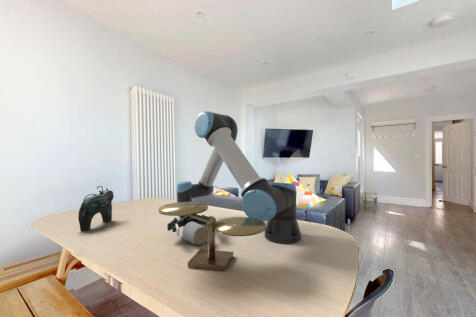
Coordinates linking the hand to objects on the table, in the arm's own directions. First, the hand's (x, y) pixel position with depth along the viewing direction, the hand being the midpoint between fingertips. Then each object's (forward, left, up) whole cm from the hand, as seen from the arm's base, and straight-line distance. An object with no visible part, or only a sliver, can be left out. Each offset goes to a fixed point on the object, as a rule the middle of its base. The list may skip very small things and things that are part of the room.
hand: (196, 229), depth 85 cm
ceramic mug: (+1, -4, -6) cm, 7 cm away
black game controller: (+61, -14, -6) cm, 63 cm away
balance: (-10, +12, -6) cm, 17 cm away
